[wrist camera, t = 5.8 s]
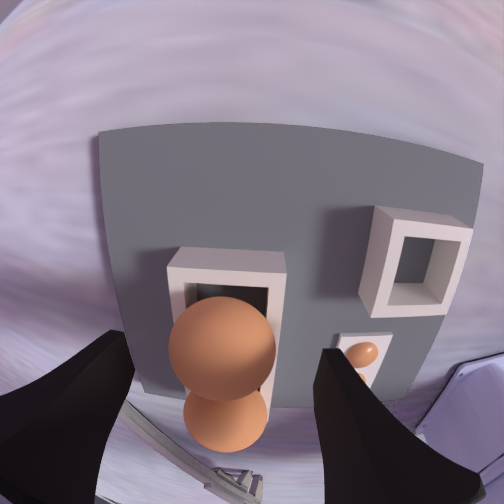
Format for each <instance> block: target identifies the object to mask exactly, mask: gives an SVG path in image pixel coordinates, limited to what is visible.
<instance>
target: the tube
mask: <svg viewBox="0 0 504 504" xmlns="http://www.w3.org/2000/svg"><path fill="white" fill-rule="evenodd" d="M473 230H474V229H472V228H471V227H469V226H467V225H466V224H464V223H462V222H460V221H459V220H457V219H455V218H453V217H452V216H450V215H444V214H437V213H430V212H423V211H416V210H409V209H401V208H393V207H384V206H376V205H375V207H374V214H373V220H372V226H371V232H370V238H369V243H368V249H367V254H366V259H365V264H364V268H363V273H362V278H361V282H360V286H359V291H358V294H359V296H360V298H361V300H362V302H363V304H364V306H365V308H366V310H367V312H368V314H369V316H370V318H387V317H415V316H433V315H446V314H447V312H448V309H449V307H450V304H451V302H452V299H453V296H454V294H455V291H456V288H457V285H458V282H459V279H460V276H461V273H462V270H463V267H464V263H465V260H466V257H467V253H468V249H469V246H470V242H471V238H472V234H473ZM405 236H408V237H419V238H430V239H435V242H434V246H433V250H432V254H431V258H430V261H429V265H428V268H427V272H426V275H425V279H424V282H423V283H394V279H395V275H396V271H397V267H398V263H399V259H400V255H401V251H402V246H403V242H404V237H405Z"/></svg>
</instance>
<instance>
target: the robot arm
mask: <svg viewBox="0 0 504 504" xmlns="http://www.w3.org/2000/svg"><path fill="white" fill-rule="evenodd" d="M134 372H135V367H134V364H133V361H132V358H131V355H130V351H129V348H128V345H127V341H126V338H125V334H124V332H121V331H115V330H109V331H108V332H106V333H105V334H103V335H102V336H100V337H99V338H97V339H96V340H95V341H93V342H92V343H91V344H89V345H88V346H87V347H85V348H84V349H82V350H81V351H80V352H78V353H77V354H76V355H74V356H73V357H71V358H70V359H69V360H67V361H66V362H64V363H63V364H61V365H60V366H58V367H57V368H55V369H54V370H52V371H51V372H49V373H48V374H46V375H44V376H42V377H41V378H39V379H37V380H35V381H33V382H31V383H30V384H28V385H26V386H23V387H21V388H19V389H16V390H14V391H12V392H9V393H7V394H4V395H1V396H0V504H94V500H95V492H96V485H97V478H98V474H99V469H100V464H101V460H102V456H103V453H104V449H105V445H106V442H107V440H108V437H109V434H110V432H111V430H112V427H113V425H114V423H115V421H116V419H117V416H118V414H119V412H120V410H121V408H122V405H123V403H124V401H125V399H126V396H127V394H128V392H129V389H130V386H131V383H132V379H133V376H134ZM313 400H314V412H315V418H316V423H317V429H318V435H319V440H320V446H321V452H322V457H323V465H324V485H325V504H504V354H500V355H497V356H493V357H489V358H485V359H481V360H477V361H473V362H469V363H464V364H462V365H460V366H459V367H458V369H457V370H456V372H455V374H454V375H453V377H452V378H451V380H450V382H449V383H448V385H447V386H446V388H445V389H444V391H443V392H442V394H441V395H440V397H439V398H438V400H437V401H436V403H435V404H434V405H433V407H432V408H431V410H430V411H429V412H428V414H427V415H426V416H425V418H424V419H423V420H422V422H421V423H420V424H419V425H418V427H417V428H416V429H415V432H416V433H417V434H418V433H422V432H423V433H424V436H425V439H426V442H427V444H428V445H427V444H426V443H424V442H423V441H422V440H420V439H419V438H418V437H416V436H415V435H414V434H413V433H411V432H410V431H409V430H408V429H407V428H406V427H405V426H404V425H403V424H401V423H400V422H399V421H398V420H397V419H396V418H395V417H394V416H393V415H392V414H391V413H390V412H389V410H388V409H387V408H386V407H385V406H384V405H383V404H382V403H381V402H380V400H379V399H378V398H377V397H376V396H375V395H374V393H373V392H372V391H371V390H370V388H369V387H368V386H367V385H366V383H365V382H364V381H363V379H362V378H361V377H360V375H359V374H358V373H357V371H356V370H355V369H354V367H353V366H352V365H351V363H350V362H349V360H348V359H347V358H346V356H345V355H344V353H343V352H342V351H341V349H340V348H323V349H322V353H321V357H320V361H319V365H318V369H317V372H316V376H315V379H314V383H313Z"/></svg>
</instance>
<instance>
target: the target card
mask: <svg viewBox="0 0 504 504" xmlns="http://www.w3.org/2000/svg"><path fill="white" fill-rule="evenodd" d="M392 337H393V334H392V332H370V333H340V335H339V339H338V343H337V346H336V348H340V349H341V351H342V352H343V353H344V355H345V356H346V358H347V359H348V360H349V362H350V363H351V365H352V366H353V367H354V369H355V370H356V371H357V373H358V374H359V375H360V377H361V378H362V379H363V381H364V382H365V383H366V385H367V386H368V387H369V388H370V387H371V385H372V383H373V381H374V379H375V377H376V375H377V372H378V370H379V368H380V366H381V363H382V361H383V359H384V356H385V354H386V352H387V349H388V347H389V344H390V342H391V339H392Z"/></svg>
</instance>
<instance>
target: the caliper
mask: <svg viewBox="0 0 504 504" xmlns="http://www.w3.org/2000/svg"><path fill="white" fill-rule="evenodd" d="M117 417H118V418H119V419H120V420H121V421H122V422H123V423H124V424H125V425H127V426H128V427H129V428H130V429H131V430H132V431H133V432H134V433H135V434H137V435H138V436H139V437H140V438H141V439H143V440H144V441H145V442H146V443H147V444H149V445H150V446H151V447H152V448H154V449H155V450H156V451H157V452H159V453H160V454H161V455H163V456H164V457H165V458H167V459H168V460H169V461H171V462H172V463H173V464H175V465H176V466H178V467H179V468H180V469H182V470H183V471H185V472H186V473H188V474H189V475H191V476H192V477H194V478H195V479H197V480H198V481H200V482H202V483H203V484H204V488H205V489H206V490H208V491H210V492H211V493H213V494H215V495H216V496H218V497H220V498H221V499H223V500H225V501H227V502H229V503H230V504H261V501H262V494H263V477H262V476H261V475H258V476H254V477H253V480H252V484H251V487H250V490H249V493H248V492H247V490H248V488H249V485H250V482H251V478H252V473H253V471H250V470H249V471H245V472H242V473H241V475H240V476H239V478H238V479H237V480H236V482H235V480H234V479H233V478H232V476H231V475H230V474H228V473H225V472H224V471H223V470H222V469H221V468H219V467H218V468H213V469H210V468H208V467H207V466H205V465H204V464H203V463H201V462H200V461H198V460H197V459H195V458H194V457H193V456H191V455H190V454H189V453H187V452H186V451H185V450H183V449H182V448H181V447H179V446H178V445H177V444H176V443H174V442H173V441H172V440H171V439H169V438H168V437H167V436H166V435H165V434H163V433H162V432H161V431H160V430H159V429H158V428H156V427H155V426H154V425H153V424H152V423H151V422H150V421H148V420H147V419H146V418H145V417H144V416H143V415H142V414H141V413H140V412H139V411H138V410H137V409H136V408H135V407H134V406H133V405H131V404H130V403H129V402H128V401H127V400H126V399H125V401H124V403H123V405H122V408H121V410H120V412H119V414H118V416H117Z"/></svg>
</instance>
